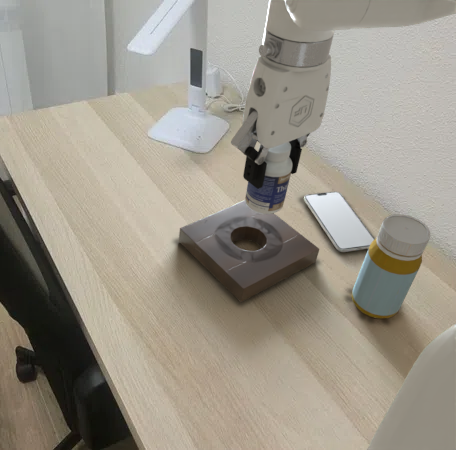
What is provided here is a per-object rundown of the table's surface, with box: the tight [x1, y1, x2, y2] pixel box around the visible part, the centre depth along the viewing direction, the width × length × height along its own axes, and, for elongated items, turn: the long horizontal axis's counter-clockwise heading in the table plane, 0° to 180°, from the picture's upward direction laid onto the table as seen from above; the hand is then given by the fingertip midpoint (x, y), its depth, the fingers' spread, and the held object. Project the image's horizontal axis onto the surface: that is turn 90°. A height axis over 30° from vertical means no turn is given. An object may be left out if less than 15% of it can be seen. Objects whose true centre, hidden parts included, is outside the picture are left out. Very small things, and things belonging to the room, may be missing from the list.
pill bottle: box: [244, 142, 292, 214], centre depth 74 cm, size 5×5×10 cm
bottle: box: [351, 213, 431, 319], centre depth 78 cm, size 7×7×15 cm
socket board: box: [178, 199, 320, 303], centre depth 90 cm, size 16×16×3 cm
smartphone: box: [303, 191, 376, 253], centre depth 97 cm, size 7×1×15 cm
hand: (269, 174), depth 74 cm, fingers closed on pill bottle, 5 cm apart
